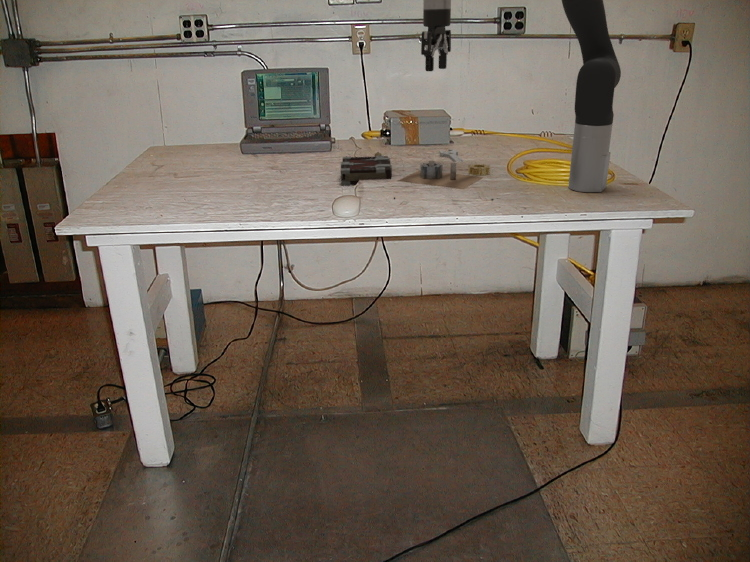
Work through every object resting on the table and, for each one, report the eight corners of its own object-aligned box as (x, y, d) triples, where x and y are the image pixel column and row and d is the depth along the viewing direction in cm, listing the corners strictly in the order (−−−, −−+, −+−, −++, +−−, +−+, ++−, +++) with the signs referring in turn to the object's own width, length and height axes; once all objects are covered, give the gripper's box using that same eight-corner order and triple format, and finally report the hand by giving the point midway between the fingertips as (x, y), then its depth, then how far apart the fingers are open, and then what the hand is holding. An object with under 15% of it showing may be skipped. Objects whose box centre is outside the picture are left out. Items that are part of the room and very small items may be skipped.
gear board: (483, 182, 175) (484, 161, 172) (463, 194, 164) (464, 172, 161) (419, 175, 184) (419, 154, 182) (397, 186, 173) (396, 164, 171)
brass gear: (492, 176, 180) (493, 164, 179) (484, 181, 175) (485, 169, 174) (472, 174, 183) (473, 162, 182) (464, 179, 178) (464, 167, 177)
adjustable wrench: (470, 171, 190) (470, 165, 189) (449, 172, 190) (449, 166, 189) (456, 153, 213) (456, 148, 212) (437, 154, 212) (437, 149, 212)
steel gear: (442, 174, 178) (443, 162, 177) (441, 179, 173) (442, 167, 171) (421, 174, 179) (421, 162, 178) (419, 179, 174) (419, 167, 172)
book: (340, 186, 175) (339, 169, 173) (343, 166, 198) (342, 150, 196) (392, 185, 176) (392, 167, 174) (388, 165, 198) (388, 149, 196)
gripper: (438, 7, 163) (437, 72, 169) (460, 7, 174) (458, 68, 180) (412, 8, 166) (412, 71, 173) (435, 7, 177) (435, 67, 184)
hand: (436, 70), depth 176 cm, fingers open, 8 cm apart
